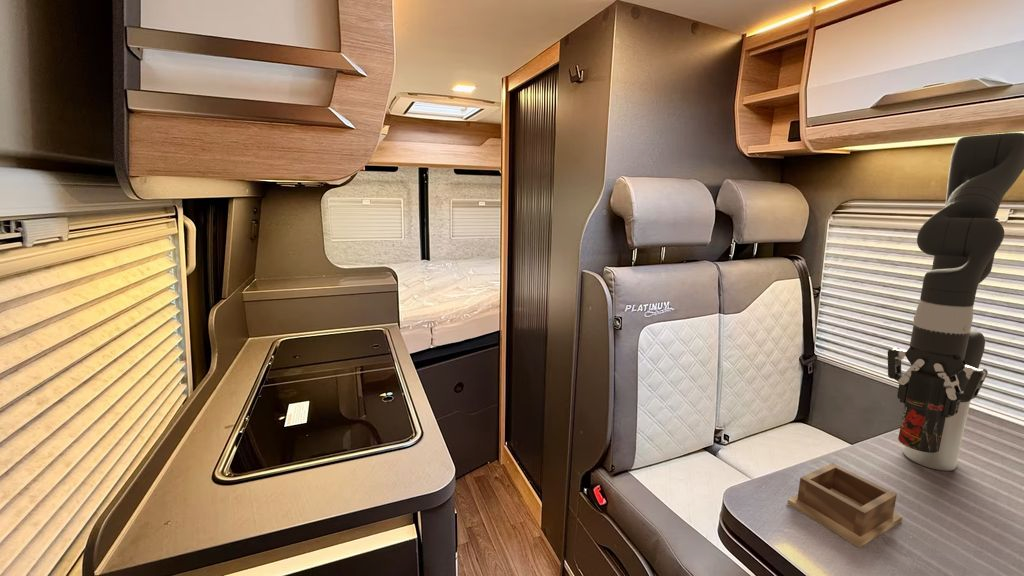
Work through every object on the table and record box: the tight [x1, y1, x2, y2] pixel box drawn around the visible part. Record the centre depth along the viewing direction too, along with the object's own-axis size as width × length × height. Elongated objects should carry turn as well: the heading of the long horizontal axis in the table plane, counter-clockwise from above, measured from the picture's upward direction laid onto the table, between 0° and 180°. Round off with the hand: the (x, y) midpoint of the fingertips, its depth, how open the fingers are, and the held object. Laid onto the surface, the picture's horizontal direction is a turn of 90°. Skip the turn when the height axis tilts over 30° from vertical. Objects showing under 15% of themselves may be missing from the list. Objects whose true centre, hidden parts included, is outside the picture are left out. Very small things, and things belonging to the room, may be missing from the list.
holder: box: [787, 462, 903, 549], centre depth 86 cm, size 15×13×6 cm
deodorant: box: [897, 371, 954, 453], centre depth 83 cm, size 6×6×15 cm
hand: (925, 408), depth 83 cm, fingers closed on deodorant, 6 cm apart
